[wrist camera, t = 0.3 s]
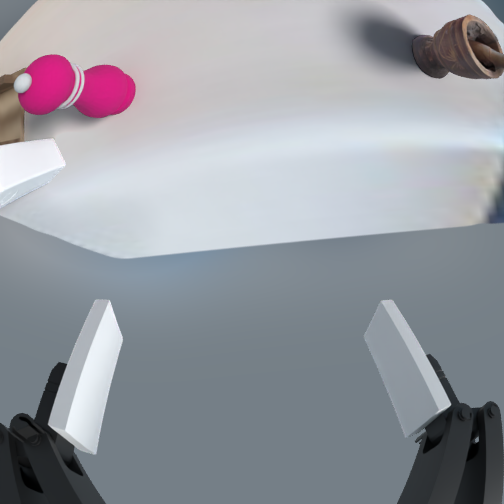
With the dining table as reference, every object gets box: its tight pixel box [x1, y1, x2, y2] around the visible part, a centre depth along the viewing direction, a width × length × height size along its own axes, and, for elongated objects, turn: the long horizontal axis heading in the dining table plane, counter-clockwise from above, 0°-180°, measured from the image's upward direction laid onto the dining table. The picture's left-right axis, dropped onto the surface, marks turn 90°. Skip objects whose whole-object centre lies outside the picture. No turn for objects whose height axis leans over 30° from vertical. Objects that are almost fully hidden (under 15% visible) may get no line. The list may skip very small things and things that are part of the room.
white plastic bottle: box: [0, 138, 66, 208], centre depth 23 cm, size 6×6×22 cm
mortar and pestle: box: [413, 15, 504, 79], centre depth 17 cm, size 12×9×20 cm
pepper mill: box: [14, 55, 135, 118], centre depth 21 cm, size 7×7×20 cm
